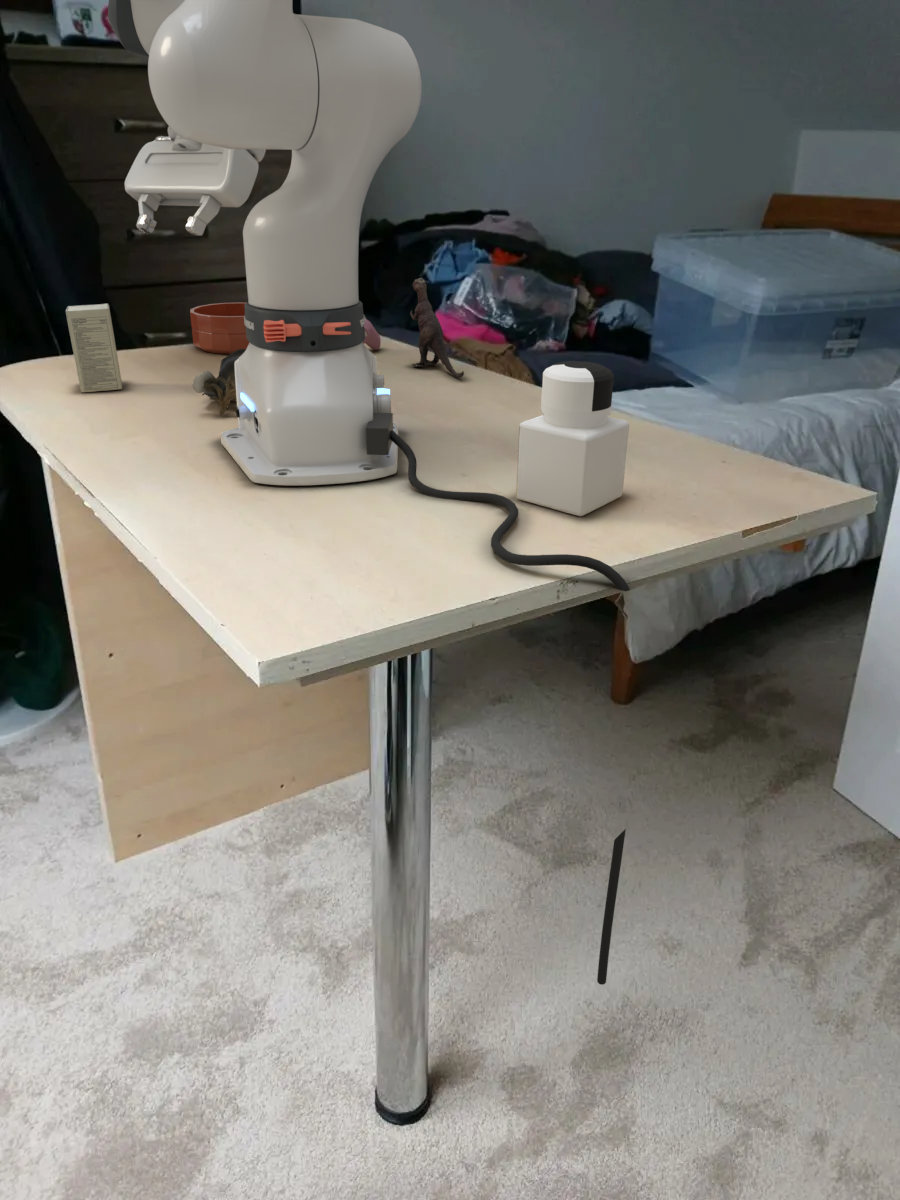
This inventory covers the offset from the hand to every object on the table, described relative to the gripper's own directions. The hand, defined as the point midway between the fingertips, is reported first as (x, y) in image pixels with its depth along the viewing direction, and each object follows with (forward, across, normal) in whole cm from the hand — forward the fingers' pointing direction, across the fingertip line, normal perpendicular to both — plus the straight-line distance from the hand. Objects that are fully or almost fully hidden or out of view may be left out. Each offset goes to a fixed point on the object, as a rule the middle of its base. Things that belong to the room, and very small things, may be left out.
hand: (167, 231), depth 122 cm
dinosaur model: (+3, +28, +28) cm, 40 cm away
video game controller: (+1, +8, +30) cm, 32 cm away
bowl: (+5, -7, +24) cm, 25 cm away
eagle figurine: (+21, +19, +3) cm, 28 cm away
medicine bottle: (+24, +67, 0) cm, 71 cm away
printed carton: (+22, -1, 0) cm, 22 cm away
